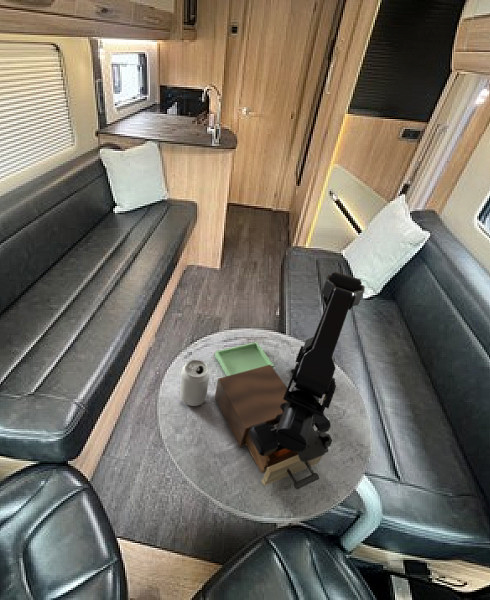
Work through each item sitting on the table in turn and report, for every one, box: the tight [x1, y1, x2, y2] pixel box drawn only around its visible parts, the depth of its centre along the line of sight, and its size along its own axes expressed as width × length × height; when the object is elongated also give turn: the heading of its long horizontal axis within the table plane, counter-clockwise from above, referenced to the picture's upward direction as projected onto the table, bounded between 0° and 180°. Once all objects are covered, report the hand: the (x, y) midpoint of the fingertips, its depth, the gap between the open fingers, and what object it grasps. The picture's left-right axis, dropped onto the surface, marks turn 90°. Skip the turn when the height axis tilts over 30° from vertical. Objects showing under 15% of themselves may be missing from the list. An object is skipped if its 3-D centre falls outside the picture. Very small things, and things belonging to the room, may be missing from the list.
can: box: [179, 358, 211, 407], centre depth 87 cm, size 8×8×12 cm
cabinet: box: [214, 365, 288, 448], centre depth 86 cm, size 16×17×8 cm
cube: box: [274, 448, 291, 458], centre depth 77 cm, size 4×4×4 cm
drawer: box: [244, 420, 324, 490], centre depth 77 cm, size 19×15×6 cm
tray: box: [214, 341, 275, 376], centre depth 102 cm, size 15×11×2 cm
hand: (281, 448), depth 77 cm, fingers closed on cube, 4 cm apart
